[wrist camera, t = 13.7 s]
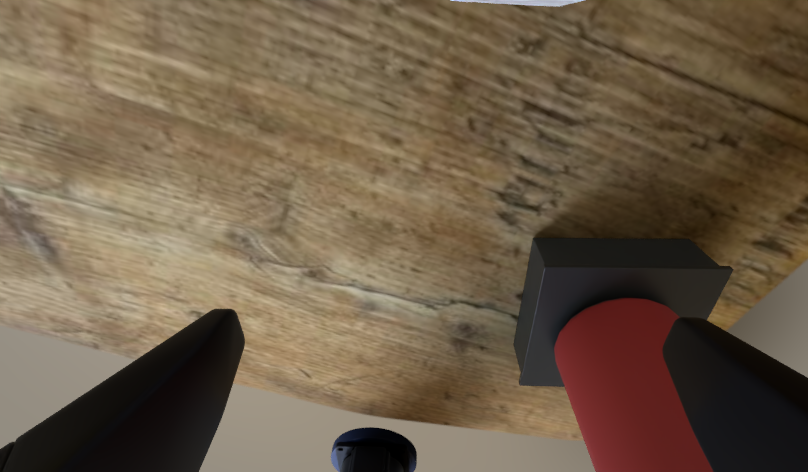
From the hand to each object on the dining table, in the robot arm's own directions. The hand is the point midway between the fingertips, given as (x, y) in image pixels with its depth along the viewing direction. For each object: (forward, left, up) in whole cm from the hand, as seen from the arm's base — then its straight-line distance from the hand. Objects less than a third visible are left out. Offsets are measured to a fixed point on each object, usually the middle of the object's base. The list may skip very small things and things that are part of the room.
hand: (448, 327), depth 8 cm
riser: (-10, -10, -13) cm, 19 cm away
